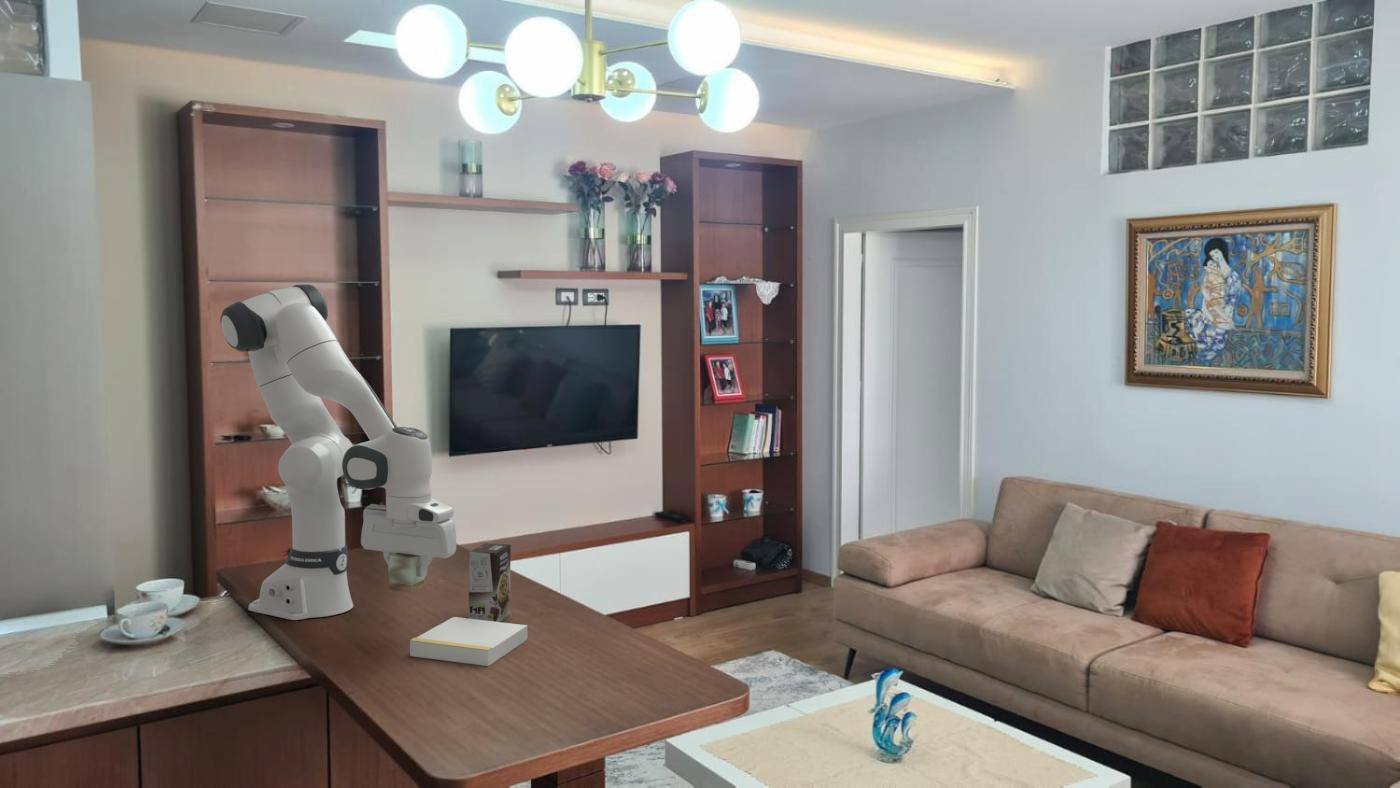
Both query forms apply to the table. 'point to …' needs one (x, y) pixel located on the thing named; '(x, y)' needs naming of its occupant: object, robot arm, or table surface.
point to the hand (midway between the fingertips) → (407, 574)
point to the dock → (468, 641)
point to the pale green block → (405, 572)
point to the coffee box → (489, 582)
